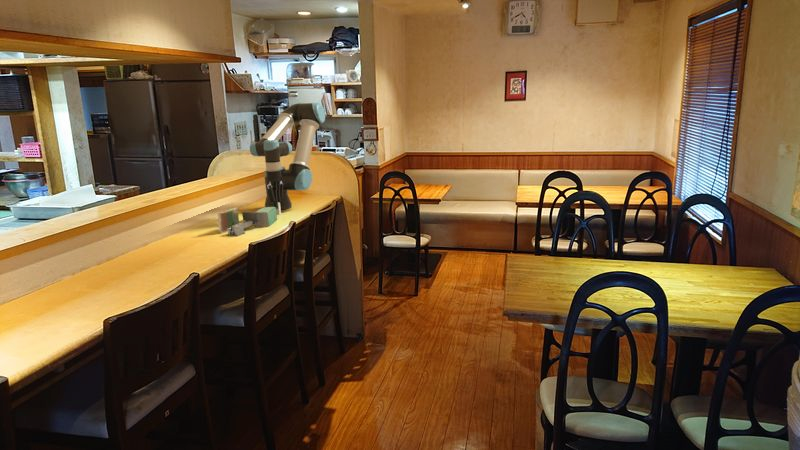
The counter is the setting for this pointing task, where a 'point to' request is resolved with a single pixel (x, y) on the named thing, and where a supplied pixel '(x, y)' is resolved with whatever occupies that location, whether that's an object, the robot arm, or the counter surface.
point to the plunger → (247, 219)
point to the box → (266, 216)
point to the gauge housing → (229, 222)
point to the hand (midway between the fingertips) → (278, 214)
